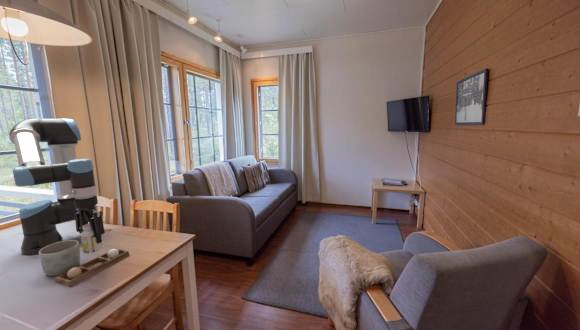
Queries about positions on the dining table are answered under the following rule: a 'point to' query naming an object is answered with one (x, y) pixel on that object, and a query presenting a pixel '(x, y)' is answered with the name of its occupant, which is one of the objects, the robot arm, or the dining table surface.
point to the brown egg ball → (74, 272)
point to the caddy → (91, 268)
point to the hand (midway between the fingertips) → (93, 248)
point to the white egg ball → (112, 253)
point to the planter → (60, 257)
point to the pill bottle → (87, 239)
